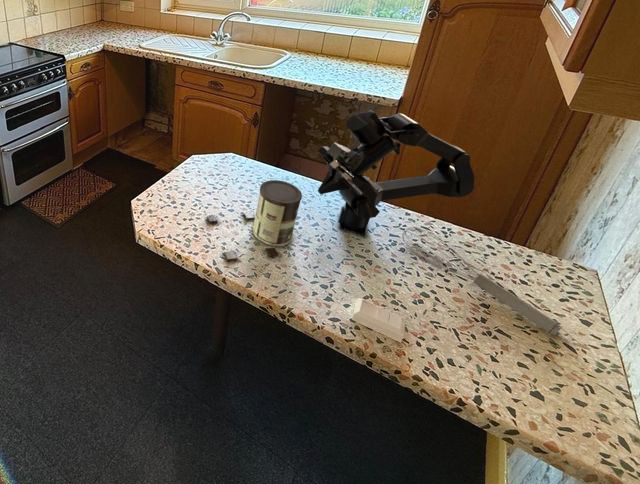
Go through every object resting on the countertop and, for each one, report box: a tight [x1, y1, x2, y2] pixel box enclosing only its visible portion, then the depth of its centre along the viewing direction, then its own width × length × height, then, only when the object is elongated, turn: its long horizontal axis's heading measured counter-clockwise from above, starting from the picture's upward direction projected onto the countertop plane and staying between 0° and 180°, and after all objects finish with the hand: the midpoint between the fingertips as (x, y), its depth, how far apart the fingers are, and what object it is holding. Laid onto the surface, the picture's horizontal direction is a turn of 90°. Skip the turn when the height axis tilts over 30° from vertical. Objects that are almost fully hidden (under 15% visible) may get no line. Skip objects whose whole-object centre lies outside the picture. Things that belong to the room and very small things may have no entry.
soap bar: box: [351, 297, 406, 343], centre depth 84 cm, size 5×9×3 cm, turn 54°
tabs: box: [206, 211, 279, 262], centre depth 108 cm, size 13×17×1 cm
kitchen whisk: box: [401, 226, 574, 342], centre depth 92 cm, size 6×34×6 cm, turn 28°
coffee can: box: [252, 179, 303, 247], centre depth 106 cm, size 10×10×14 cm
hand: (319, 192), depth 105 cm, fingers closed
